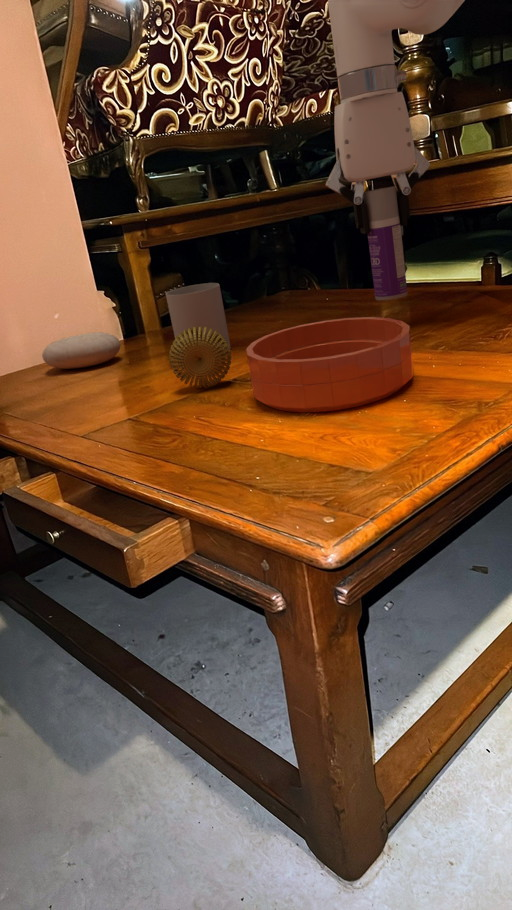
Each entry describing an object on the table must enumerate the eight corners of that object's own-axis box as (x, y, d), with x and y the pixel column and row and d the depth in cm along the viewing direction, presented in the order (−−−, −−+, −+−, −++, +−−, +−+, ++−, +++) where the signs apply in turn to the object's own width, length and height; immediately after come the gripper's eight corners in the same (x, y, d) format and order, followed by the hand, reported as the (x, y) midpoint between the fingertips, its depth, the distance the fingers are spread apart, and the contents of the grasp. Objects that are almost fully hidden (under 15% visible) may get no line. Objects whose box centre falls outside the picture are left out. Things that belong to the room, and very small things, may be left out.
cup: (203, 361, 104) (190, 295, 100) (167, 358, 109) (154, 295, 106) (241, 346, 109) (230, 282, 105) (206, 344, 115) (194, 283, 111)
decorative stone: (38, 378, 111) (30, 348, 109) (57, 364, 119) (49, 335, 118) (115, 367, 110) (107, 336, 108) (128, 353, 118) (122, 324, 116)
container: (370, 301, 102) (356, 194, 96) (383, 293, 105) (371, 189, 100) (399, 299, 99) (387, 188, 93) (412, 291, 102) (401, 184, 97)
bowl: (389, 355, 90) (385, 309, 88) (435, 395, 73) (431, 339, 71) (249, 380, 90) (241, 335, 88) (261, 427, 73) (252, 372, 71)
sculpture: (236, 377, 92) (225, 318, 89) (236, 386, 88) (224, 324, 86) (177, 387, 93) (165, 328, 90) (174, 396, 89) (161, 335, 86)
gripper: (421, 79, 95) (433, 216, 102) (301, 103, 95) (321, 239, 102) (439, 70, 88) (451, 218, 95) (309, 96, 88) (330, 242, 95)
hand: (383, 227), depth 98 cm, fingers closed on container, 4 cm apart
